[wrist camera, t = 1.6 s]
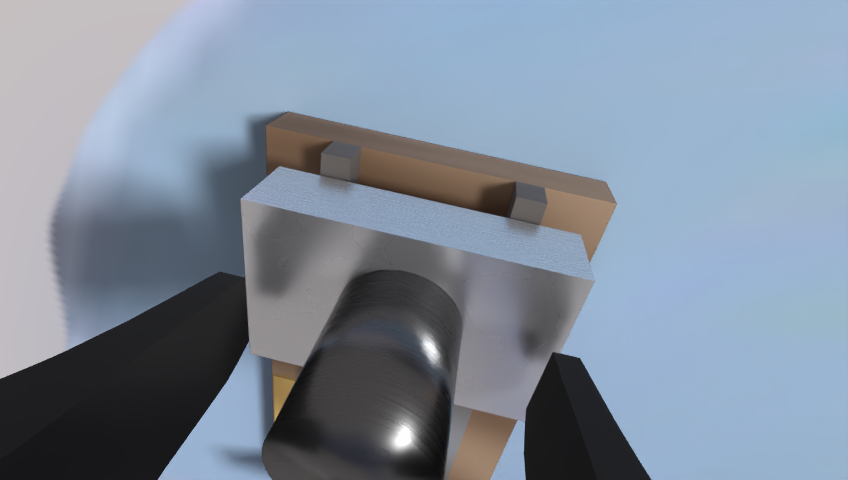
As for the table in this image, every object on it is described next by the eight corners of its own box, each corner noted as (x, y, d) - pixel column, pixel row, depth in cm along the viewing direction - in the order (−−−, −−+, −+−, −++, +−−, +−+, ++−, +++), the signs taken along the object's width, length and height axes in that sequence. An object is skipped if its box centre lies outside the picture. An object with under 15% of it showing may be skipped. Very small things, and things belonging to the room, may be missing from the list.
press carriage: (524, 367, 14) (534, 595, 9) (280, 308, 14) (154, 494, 9) (581, 234, 11) (645, 452, 6) (279, 166, 11) (99, 316, 6)
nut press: (467, 503, 23) (457, 634, 19) (287, 456, 24) (234, 573, 19) (606, 181, 13) (661, 293, 8) (288, 111, 14) (174, 181, 9)
